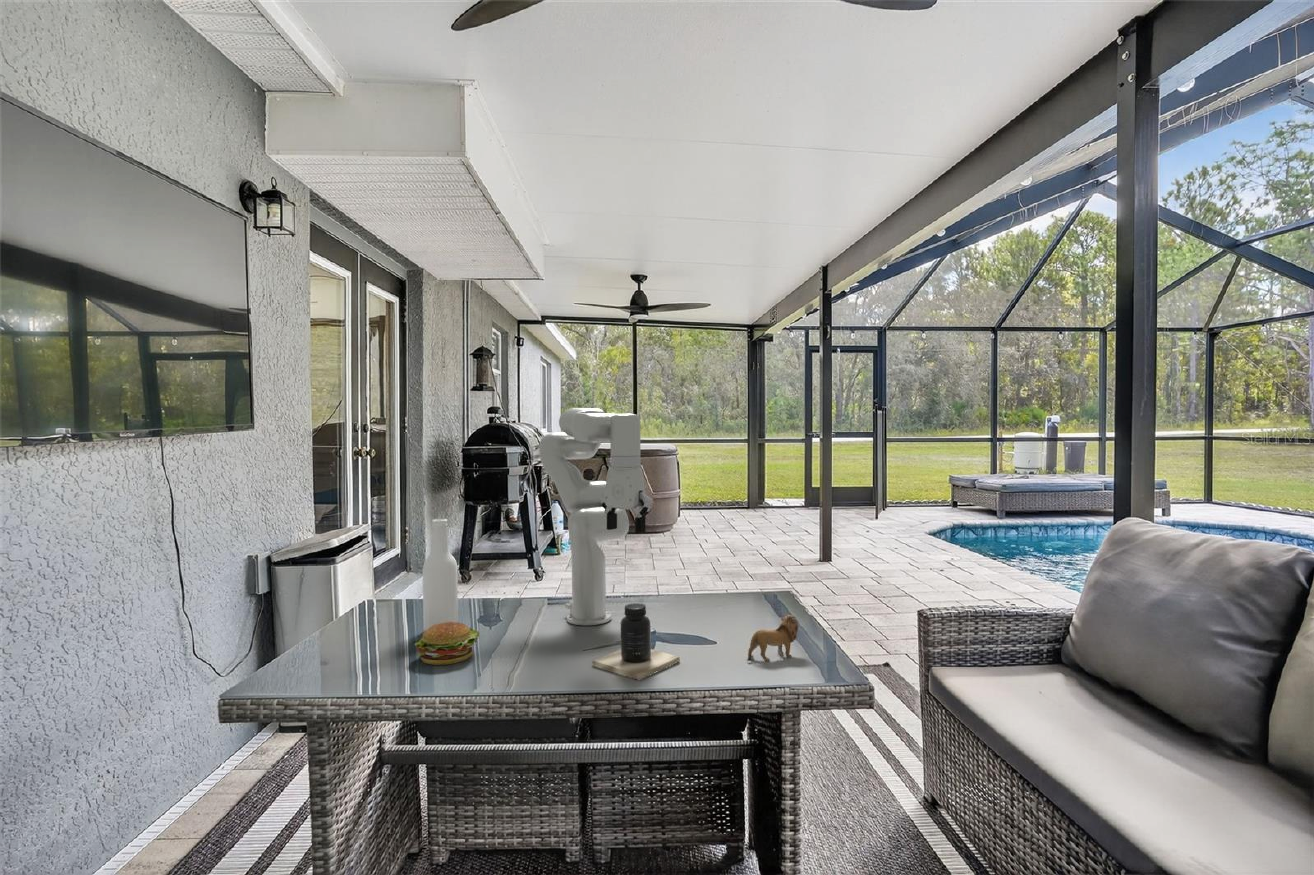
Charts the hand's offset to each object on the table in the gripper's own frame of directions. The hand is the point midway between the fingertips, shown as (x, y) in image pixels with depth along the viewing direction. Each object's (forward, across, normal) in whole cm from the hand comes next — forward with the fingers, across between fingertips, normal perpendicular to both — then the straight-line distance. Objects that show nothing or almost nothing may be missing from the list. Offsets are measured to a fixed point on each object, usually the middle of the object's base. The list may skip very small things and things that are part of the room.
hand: (625, 531), depth 160 cm
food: (+28, -26, -34) cm, 51 cm away
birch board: (+28, +12, -10) cm, 32 cm away
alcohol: (+29, -46, -24) cm, 59 cm away
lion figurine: (+28, +34, +14) cm, 46 cm away
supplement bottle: (+27, +12, -10) cm, 31 cm away
